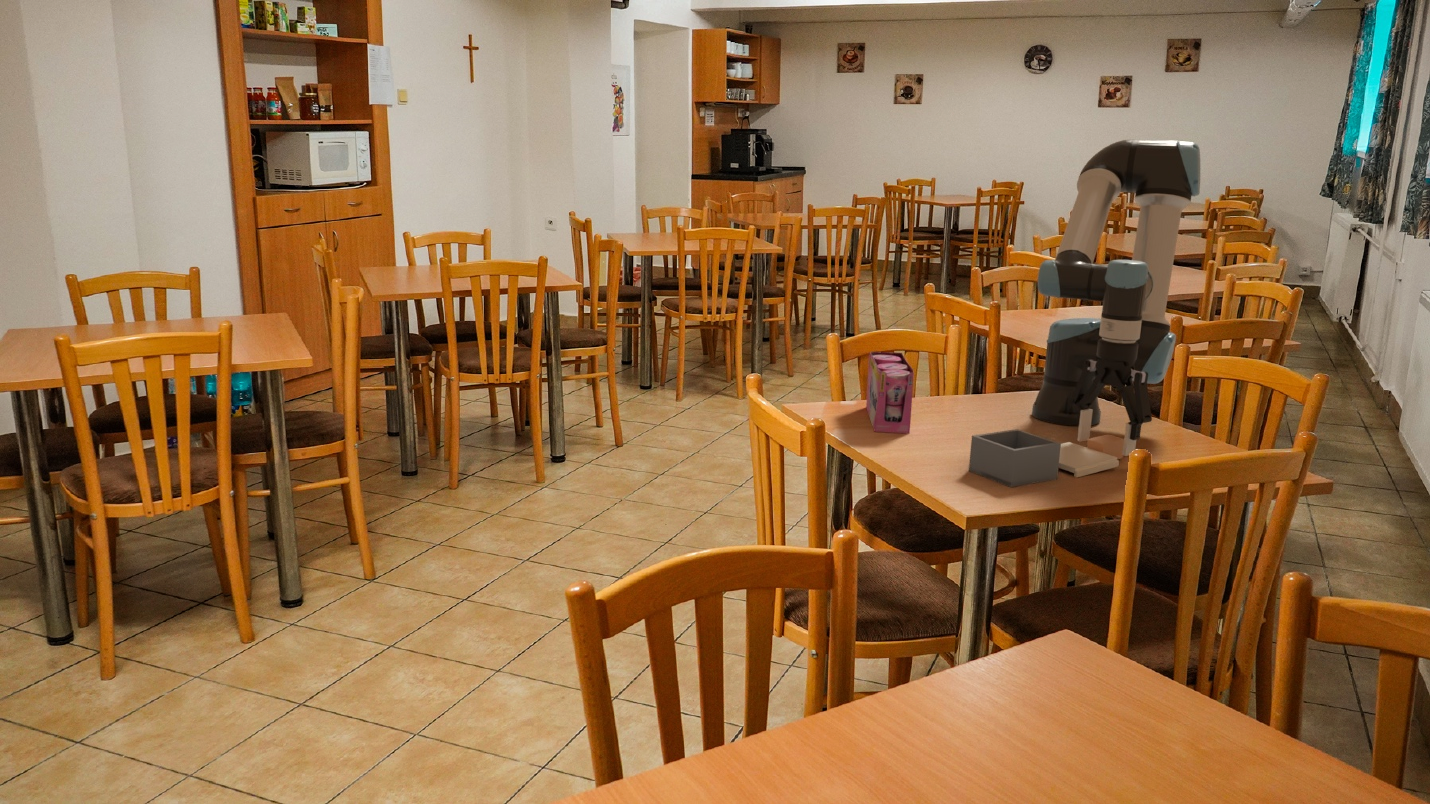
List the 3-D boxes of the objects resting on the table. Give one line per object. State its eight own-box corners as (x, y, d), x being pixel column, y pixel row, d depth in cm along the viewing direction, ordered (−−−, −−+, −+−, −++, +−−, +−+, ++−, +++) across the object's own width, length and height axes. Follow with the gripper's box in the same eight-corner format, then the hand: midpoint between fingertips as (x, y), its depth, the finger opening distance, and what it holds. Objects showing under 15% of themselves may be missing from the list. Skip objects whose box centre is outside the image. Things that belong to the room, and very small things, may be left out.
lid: (1089, 447, 220) (1090, 428, 219) (1141, 463, 209) (1143, 444, 208) (1025, 463, 212) (1026, 444, 211) (1076, 481, 201) (1077, 461, 200)
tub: (1013, 463, 209) (1017, 429, 207) (1057, 478, 199) (1061, 443, 198) (968, 470, 203) (971, 435, 201) (1010, 487, 193) (1014, 450, 192)
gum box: (911, 435, 227) (916, 374, 223) (874, 434, 227) (878, 372, 224) (898, 408, 250) (902, 352, 247) (865, 407, 250) (868, 351, 247)
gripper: (1059, 331, 216) (1048, 435, 221) (1155, 351, 196) (1140, 465, 202) (1085, 328, 219) (1073, 431, 225) (1182, 348, 200) (1166, 460, 205)
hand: (1105, 447), depth 213 cm, fingers open, 11 cm apart
